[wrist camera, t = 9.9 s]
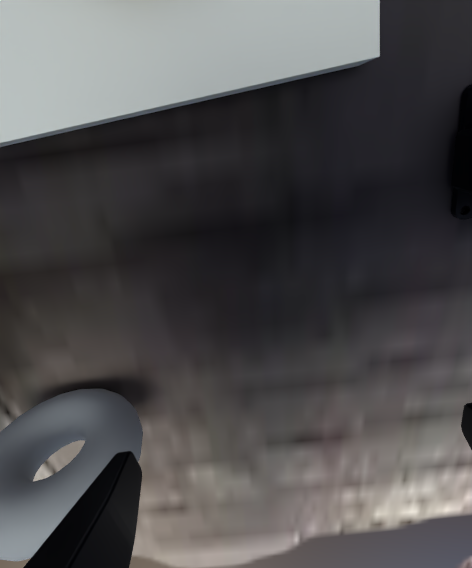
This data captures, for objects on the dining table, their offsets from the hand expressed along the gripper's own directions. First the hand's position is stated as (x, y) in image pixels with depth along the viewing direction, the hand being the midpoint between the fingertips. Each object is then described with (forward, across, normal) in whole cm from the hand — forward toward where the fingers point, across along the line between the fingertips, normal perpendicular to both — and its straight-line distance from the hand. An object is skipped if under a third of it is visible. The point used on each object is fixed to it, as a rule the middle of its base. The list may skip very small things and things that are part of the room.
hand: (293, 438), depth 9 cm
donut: (+12, +14, +8) cm, 20 cm away
